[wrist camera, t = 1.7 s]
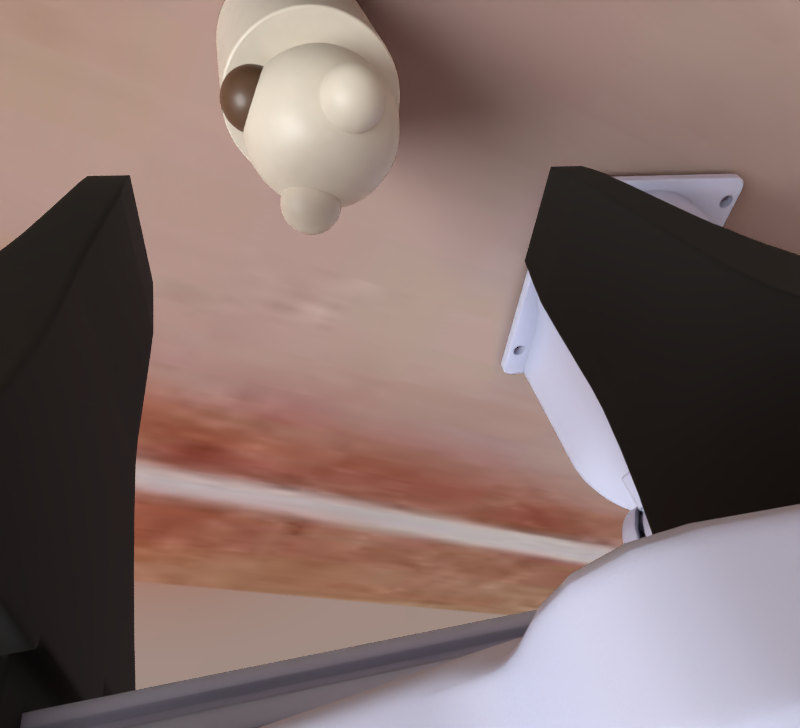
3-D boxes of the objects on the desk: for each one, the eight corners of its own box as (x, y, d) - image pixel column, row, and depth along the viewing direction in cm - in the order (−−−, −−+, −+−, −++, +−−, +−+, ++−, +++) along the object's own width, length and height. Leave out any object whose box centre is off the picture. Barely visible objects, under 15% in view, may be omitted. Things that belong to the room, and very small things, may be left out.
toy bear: (391, 1, 17) (474, 106, 12) (336, 140, 20) (386, 276, 14) (236, -73, 15) (258, 14, 10) (195, 91, 18) (197, 228, 13)
